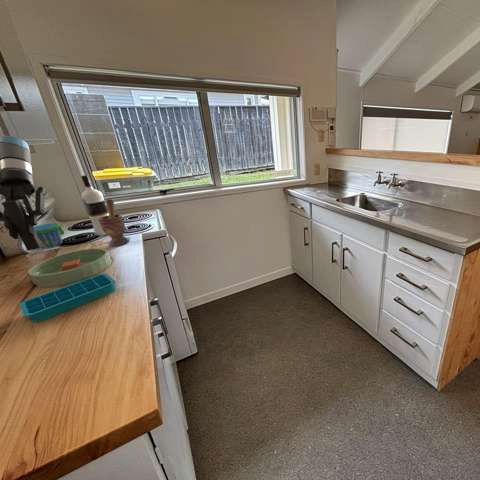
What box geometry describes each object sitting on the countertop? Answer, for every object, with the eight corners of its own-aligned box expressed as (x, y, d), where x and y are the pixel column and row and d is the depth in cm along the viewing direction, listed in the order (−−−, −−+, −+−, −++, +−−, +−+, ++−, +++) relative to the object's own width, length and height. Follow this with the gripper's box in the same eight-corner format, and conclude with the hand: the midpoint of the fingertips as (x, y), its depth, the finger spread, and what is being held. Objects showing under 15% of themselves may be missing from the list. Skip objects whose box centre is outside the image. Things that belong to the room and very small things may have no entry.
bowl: (25, 296, 81) (17, 282, 79) (45, 269, 98) (39, 258, 96) (109, 275, 92) (103, 262, 90) (114, 254, 109) (110, 243, 107)
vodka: (119, 232, 136) (98, 174, 125) (97, 237, 130) (73, 177, 118) (115, 229, 142) (94, 173, 130) (94, 234, 136) (70, 176, 124)
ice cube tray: (119, 290, 82) (116, 282, 81) (30, 326, 67) (24, 317, 66) (108, 279, 88) (105, 272, 87) (24, 311, 74) (19, 302, 73)
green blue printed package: (46, 253, 113) (35, 232, 109) (23, 254, 114) (12, 233, 110) (77, 240, 128) (69, 220, 124) (57, 241, 128) (48, 221, 124)
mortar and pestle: (106, 242, 123) (90, 201, 116) (128, 237, 129) (114, 197, 121) (109, 248, 115) (92, 205, 108) (132, 242, 121) (117, 201, 113)
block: (66, 278, 90) (60, 267, 88) (69, 273, 93) (63, 262, 92) (82, 274, 92) (77, 263, 90) (84, 269, 96) (79, 259, 94)
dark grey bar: (27, 250, 83) (1, 202, 77) (30, 247, 85) (5, 201, 79) (40, 248, 85) (15, 200, 78) (42, 245, 87) (19, 199, 81)
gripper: (53, 179, 93) (62, 234, 87) (-11, 186, 86) (-7, 247, 79) (42, 165, 87) (50, 223, 80) (-28, 171, 79) (-26, 236, 73)
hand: (22, 235), depth 80 cm, fingers closed on dark grey bar, 3 cm apart
